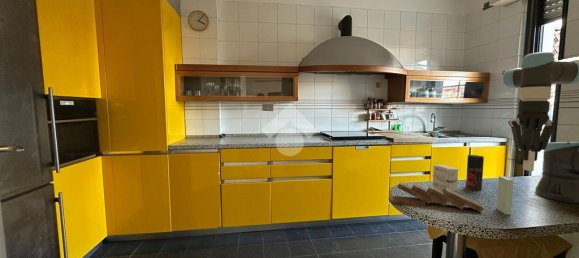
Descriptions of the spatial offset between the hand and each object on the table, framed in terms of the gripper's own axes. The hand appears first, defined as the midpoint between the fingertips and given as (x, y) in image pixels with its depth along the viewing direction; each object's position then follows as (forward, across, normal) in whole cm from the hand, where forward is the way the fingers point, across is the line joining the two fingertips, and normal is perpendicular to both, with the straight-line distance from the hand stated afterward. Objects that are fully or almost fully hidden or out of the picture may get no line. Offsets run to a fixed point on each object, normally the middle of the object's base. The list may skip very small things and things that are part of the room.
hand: (528, 169), depth 87 cm
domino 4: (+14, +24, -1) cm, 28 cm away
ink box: (+16, +20, -16) cm, 30 cm away
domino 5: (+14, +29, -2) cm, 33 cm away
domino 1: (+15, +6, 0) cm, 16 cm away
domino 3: (+14, +19, 0) cm, 24 cm away
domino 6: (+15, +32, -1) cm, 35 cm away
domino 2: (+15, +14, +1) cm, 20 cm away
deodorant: (+15, +4, -28) cm, 32 cm away
